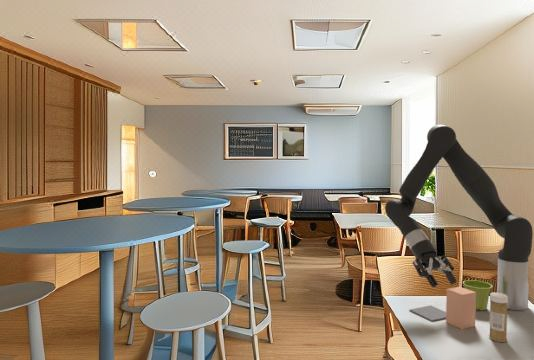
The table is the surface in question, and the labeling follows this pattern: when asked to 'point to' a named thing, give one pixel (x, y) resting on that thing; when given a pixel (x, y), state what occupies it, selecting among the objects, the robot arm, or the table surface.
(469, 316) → the tall peach pillar
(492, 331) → the spice jar
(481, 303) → the plant pot
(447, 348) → the table surface
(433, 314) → the gray mat
